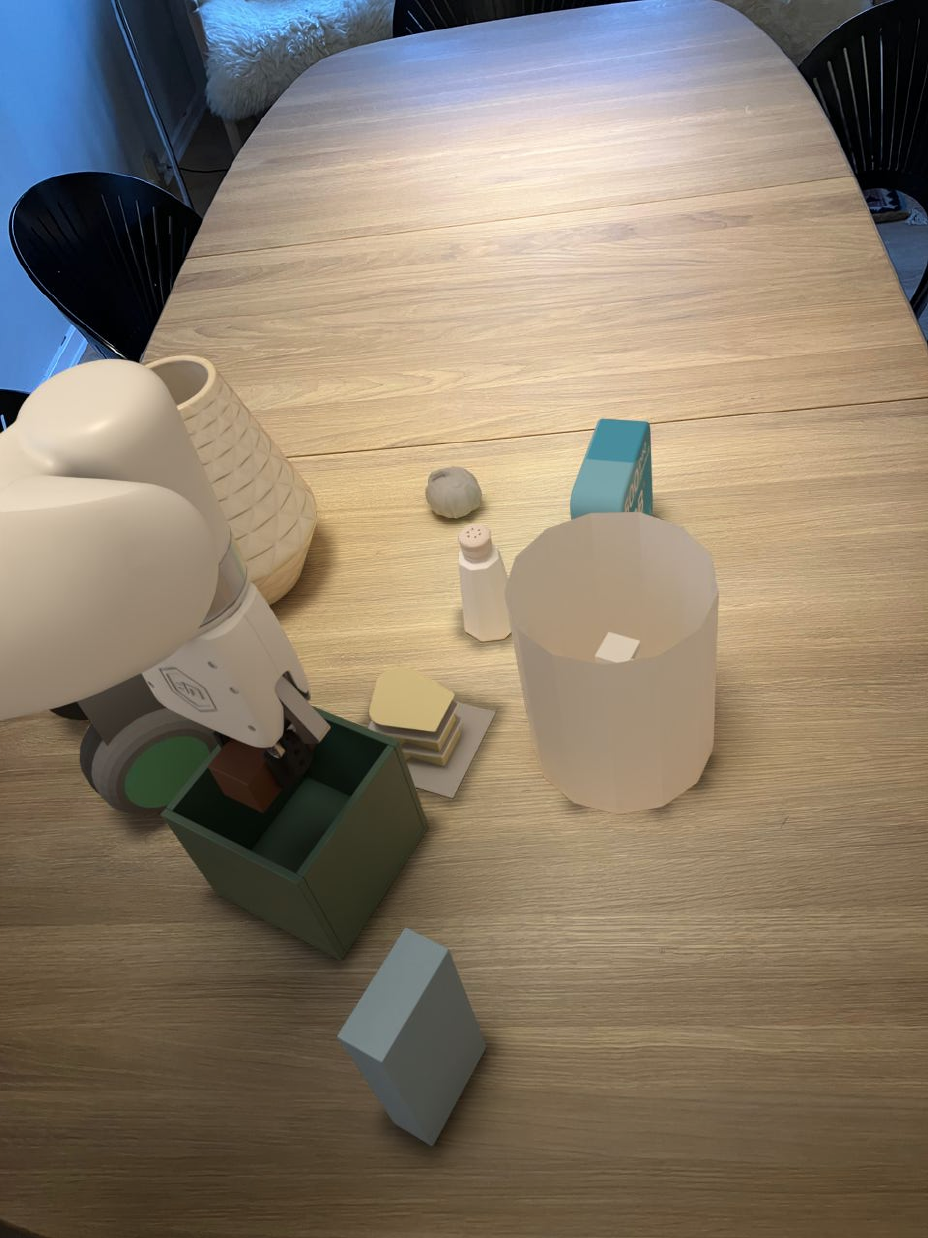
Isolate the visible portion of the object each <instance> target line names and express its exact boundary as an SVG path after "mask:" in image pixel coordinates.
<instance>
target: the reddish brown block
mask: <svg viewBox="0 0 928 1238" xmlns="http://www.w3.org/2000/svg"><path fill="white" fill-rule="evenodd" d="M284 722H285V721H284ZM315 745H316V744H309V746H310V748H311V750H312V749H313V748H314V747H315ZM265 751H266V749H265V748H260V747H254V746H251V745H248V744H246V743H243V742H241V741H238V740H236V739H234V738H230V739H229V741H228V742H227V743H226V744H225V745H224V747H223V748H222V749H221V750H220V751H219V753H218V754H217V755H216V756H215V757H214V759H213V760H212V761H211V762H210V764H209V765H208V768H209V770H210V771H211V773H212V775H213V776H214V778H215V780H216V781H217V783H218V785H219V786H220V788H221V790H222V791H223V793H224V794H225V795H226V796H228V797H230V798H232V799H234V800H237V801H239V802H241V803H243V804H245V805H247V806H249V807H251V808H253V809H255V810H257V811H260V812H262V813H264V812H265V811H266V810H267V808H268V807H269V806H270V804H271V803H272V802H273V800H274V799H275V798H276V796H277V795H278V794H279V793H280V791H281V790H282V789H281V788H280V787H279V786H278V784H277V782H276V780H275V778H274V776H273V774H272V772H271V771H270V769H269V767H268V765H267V763H266V761H265V759H264V757H263V755H264V752H265Z"/></svg>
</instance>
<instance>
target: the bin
mask: <svg viewBox="0 0 928 1238" xmlns="http://www.w3.org/2000/svg"><path fill="white" fill-rule="evenodd" d="M311 706H312V707H313V708H314V709H315V710H316V711H317V712H318V713H319V714H320V715H321V716H322V718H323V719H324V720H325V721H326V722H327V723H328V724H329V725H330V730H329V731H328V732H327V734H326V735H325V736H324V737H323V739H322V740H321V741H320V743H319V744H316V745H315V747H314V748H313V749H312V752H313V758H312V760H311V762H310V765H309V767H308V769H307V770H306V772H305V773H304V774H303V775H302V776H301V777H298V779H297V780H296V781H295V783H294V784H293V785H292V787H291V788H290V789H289V790H288V791H286V790H284V789H282V790H281V791H280V793H279V794H278V795H277V796H276V798H275V799H274V800H273V802H272V803H271V804H270V806H269V807H268V808H267V810H266V811H265V812H264V813H262V812H260V811H257V810H255V809H253V808H251V807H249V806H247V805H245V804H243V803H241V802H239V801H237V800H234V799H232V798H230V797H228V796H226V795H225V794H224V793H223V791H222V790H221V788H220V786H219V785H218V783H217V781H216V780H215V778H214V776H213V775H212V773H211V771H210V770H209V768H208V765H209V764H210V762H211V761H212V760H213V759H214V757H215V756H216V755H217V754H218V753H219V751H220V750H221V747H220V746H219V744H218V746H217V747H216V748H215V749H214V750H213V752H212V753H211V754H210V755H209V756H208V758H207V759H206V760H205V761H204V762H203V764H202V765H201V766H200V767H199V768H198V770H197V771H196V772H195V773H194V774H193V776H192V777H191V778H190V779H189V780H188V782H187V783H186V784H185V785H184V786H183V788H182V789H181V790H180V791H179V793H178V794H177V795H176V796H175V797H174V799H173V800H172V801H171V802H170V803H169V805H168V806H167V807H166V808H165V810H164V811H163V812H162V813H160V816H161V817H162V819H163V820H164V822H165V824H167V826H168V827H169V829H170V830H171V832H172V833H173V834H174V836H175V838H176V839H177V840H178V841H179V843H180V844H181V846H182V847H183V849H184V850H185V852H186V853H187V854H188V856H189V857H190V859H191V860H192V861H193V863H194V865H195V866H196V867H197V869H198V871H200V873H201V874H202V876H203V878H204V879H205V880H206V881H207V883H208V884H209V886H210V887H211V889H212V890H213V891H214V893H215V895H218V896H219V897H221V898H223V899H225V900H227V901H229V902H230V903H232V904H234V905H236V906H238V907H240V908H242V909H244V910H246V911H247V912H249V913H251V914H253V915H255V916H257V917H259V918H261V919H262V920H264V921H266V922H268V923H270V924H272V925H274V926H275V927H277V928H279V929H281V930H282V931H284V932H287V933H289V934H291V935H292V936H294V937H295V938H298V939H299V940H301V941H303V942H305V943H306V944H309V945H311V946H312V947H314V948H316V949H318V950H320V951H322V952H324V953H326V954H327V955H329V956H331V957H333V958H335V959H336V960H339V961H340V962H342V961H343V960H344V958H345V956H346V955H347V953H348V952H349V951H350V949H351V947H352V946H353V944H354V943H355V941H356V940H357V938H358V937H359V936H360V934H361V932H362V930H363V929H364V927H365V926H366V924H367V922H369V920H370V918H371V916H372V915H373V914H374V912H375V910H376V909H377V907H378V906H379V905H380V903H381V901H382V900H383V899H384V897H385V895H386V893H387V892H388V891H389V889H390V887H391V886H392V885H393V883H394V882H395V880H396V878H397V877H398V876H399V874H400V872H401V871H402V869H403V868H404V866H405V864H406V863H407V862H408V860H409V859H410V857H411V855H412V854H413V852H414V851H415V849H416V848H417V847H418V845H419V843H420V842H421V840H422V838H423V837H424V836H425V834H426V833H427V831H428V829H429V828H430V826H429V823H428V820H427V818H426V814H425V811H424V809H423V806H422V803H421V800H420V797H419V794H418V791H417V789H416V788H417V787H415V785H414V783H413V780H412V777H411V774H410V771H409V768H408V765H407V762H406V760H405V757H404V754H403V751H402V748H401V745H400V742H399V741H397V740H395V739H393V738H390V737H388V736H385V735H383V734H380V733H378V732H375V731H373V730H370V729H368V727H365V726H363V725H360V724H358V723H356V722H353V721H352V720H351V721H350V720H349V719H346V718H343V717H341V716H339V715H336V714H333V713H331V712H328V711H326V710H324V709H321V708H319V707H316V706H314V705H311Z"/></svg>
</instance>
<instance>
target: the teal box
mask: <svg viewBox="0 0 928 1238" xmlns="http://www.w3.org/2000/svg"><path fill="white" fill-rule="evenodd" d="M651 432H652V431H651V424H650V422H649V421H645V420H633V419H632V420H629V419H618V418H616V419H615V418H600V419H599V420H598V421H597V422H596V424H595V428H594V430H593V433H592V436H591V439H590V441H589V444H588V447H587V449H586V452H585V454H584V457H583V460H582V462H581V465H580V467H579V470H578V472H577V476H576V479H575V481H574V484H573V487H572V489H571V494H570V502H569V512H570V520H572V519H575V518H578V517H581V516H584V515H586V514H589V513H611V512H641V513H644V514H647V515H650V516H652V517H653V509H654V497H653V469H652V468H653V467H652V465H653V464H652V435H651Z"/></svg>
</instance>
